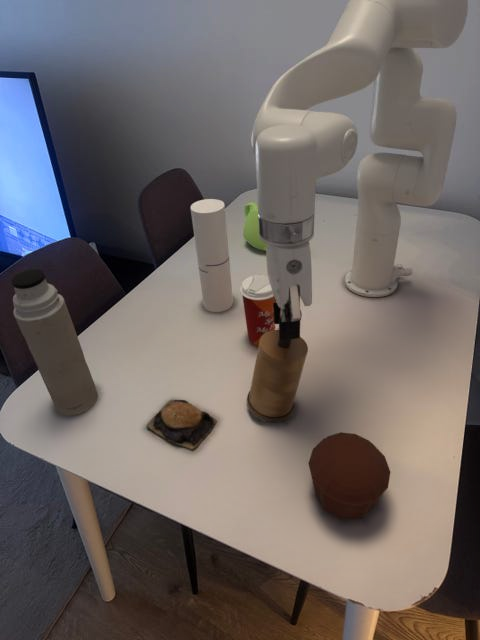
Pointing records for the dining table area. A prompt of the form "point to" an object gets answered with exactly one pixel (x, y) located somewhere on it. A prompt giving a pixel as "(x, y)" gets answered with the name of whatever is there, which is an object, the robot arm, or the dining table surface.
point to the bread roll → (182, 424)
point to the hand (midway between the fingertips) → (286, 329)
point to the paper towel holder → (276, 376)
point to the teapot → (252, 227)
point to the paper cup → (258, 306)
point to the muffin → (348, 475)
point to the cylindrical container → (212, 253)
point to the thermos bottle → (53, 342)
